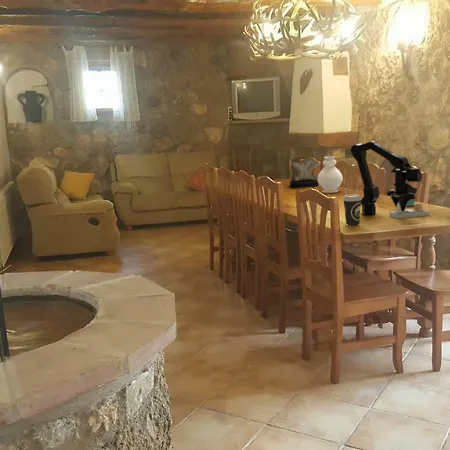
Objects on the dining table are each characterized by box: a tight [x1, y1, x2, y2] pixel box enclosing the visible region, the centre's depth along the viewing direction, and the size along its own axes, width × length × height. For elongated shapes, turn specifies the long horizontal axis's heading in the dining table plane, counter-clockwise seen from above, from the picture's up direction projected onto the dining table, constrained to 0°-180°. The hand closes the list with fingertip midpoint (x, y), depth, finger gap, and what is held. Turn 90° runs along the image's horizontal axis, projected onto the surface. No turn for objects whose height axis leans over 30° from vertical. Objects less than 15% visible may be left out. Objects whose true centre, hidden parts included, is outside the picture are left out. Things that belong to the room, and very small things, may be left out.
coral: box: [289, 159, 322, 189], centre depth 417 cm, size 25×20×22 cm
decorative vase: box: [317, 155, 344, 194], centre depth 383 cm, size 18×18×25 cm
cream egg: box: [395, 202, 405, 214], centre depth 280 cm, size 5×5×6 cm
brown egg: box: [413, 202, 424, 212], centre depth 282 cm, size 5×5×6 cm
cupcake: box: [406, 195, 418, 207], centre depth 312 cm, size 9×8×12 cm
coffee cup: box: [342, 193, 363, 226], centre depth 270 cm, size 10×10×15 cm
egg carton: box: [389, 208, 430, 219], centre depth 282 cm, size 18×8×3 cm, turn 101°
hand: (400, 210), depth 281 cm, fingers closed on cream egg, 5 cm apart
